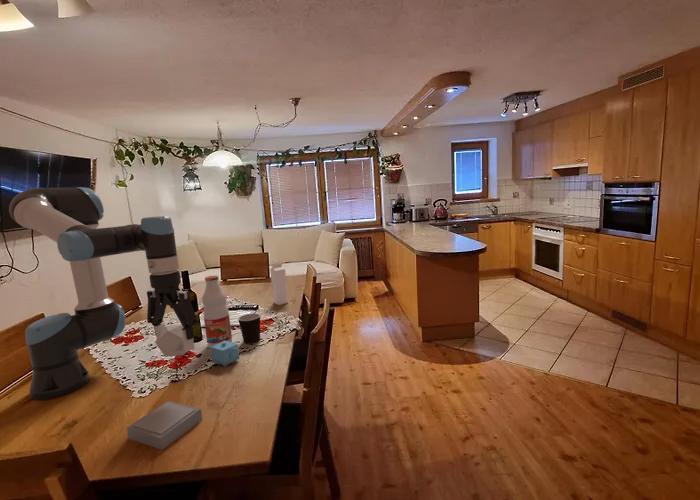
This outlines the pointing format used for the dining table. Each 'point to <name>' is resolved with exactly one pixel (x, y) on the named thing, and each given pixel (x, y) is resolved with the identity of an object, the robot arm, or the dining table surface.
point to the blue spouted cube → (225, 353)
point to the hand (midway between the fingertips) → (176, 347)
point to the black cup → (250, 328)
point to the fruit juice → (216, 313)
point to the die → (171, 341)
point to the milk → (279, 284)
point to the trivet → (164, 424)
